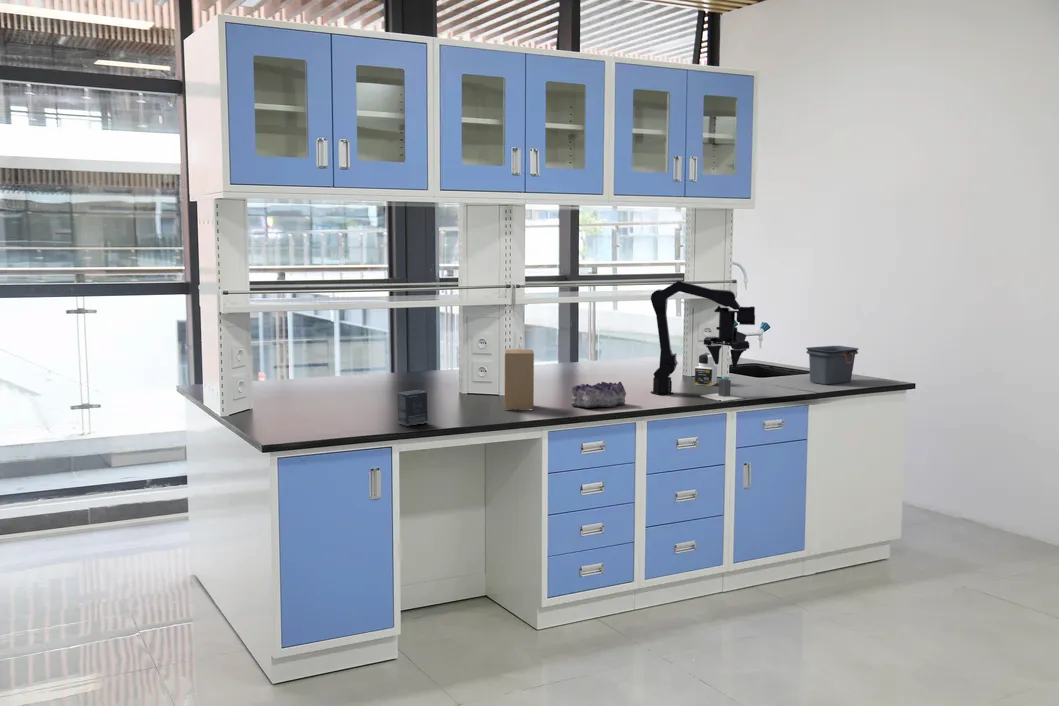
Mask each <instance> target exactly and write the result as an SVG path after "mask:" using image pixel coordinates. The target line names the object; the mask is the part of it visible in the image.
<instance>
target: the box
mask: <svg viewBox="0 0 1059 706" xmlns="http://www.w3.org/2000/svg"><path fill="white" fill-rule="evenodd" d="M397 411H398V412H397V414H398V416H397V417H398V418H397V420H398V421H400V422H403V423H407V424H409V423H416V422H424V421H428V419H429V418H428V416H429V415H428V392H427V391H425V390H421V389H414V390H408V391H400V392H397ZM428 422H429V421H428Z"/></svg>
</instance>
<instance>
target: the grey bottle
mask: <svg viewBox="0 0 1059 706" xmlns="http://www.w3.org/2000/svg"><path fill="white" fill-rule="evenodd" d="M731 384H732V382H731V380H730V379H729V376H726V375H724V376H723V375H722V376H721V379H718V393H719V396H723V397H726V396H730V394H731Z"/></svg>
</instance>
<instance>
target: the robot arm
mask: <svg viewBox="0 0 1059 706" xmlns="http://www.w3.org/2000/svg"><path fill="white" fill-rule="evenodd" d="M679 292H681V293H684V294H689V295H692V296H696V297H699V298H703V299H704V298H705V299H707V300H710V301H713V302H714V303H716V304H719V305H718V306H717V307H716V308H715V309H714V310H713V311H714V313H718V314H719V315H718V326H716V328H715V329H716V331H718V336H706V337H704V339H703V345H704V346H705V347H706V348H707V349H708V351H709V353H710V355H712V357H713V360H714V365H715V366H717V365H719V363H720V351H721V349H722V347H723V346H727V347H730V348H731V349H729V350H730V357H731V365H732V368H736V367H737V366H738V363H739V360H740V358H741V356H742V354H743V353H744V352H745V351H747V350H748V349H750V342H749V341H747V340H746V338H747V334H745V333H743V332H740V331H738V327H737V326H736V323H735V321H736V322H737V323H739V325H741V326H755V325H756V313H755V312H756V308H755V306H741V304H739V302H738V301H737V300H736V297H737V296H736V294H735V292H733V291H732V290H730V289H729V290H728V289H715V288H708V287H705V286H700V285H697V284H693V283H689V282H685V281H683V280H680V279H678V280H677V281H675V282H673V284H671V285H669V286H667V287H666V288H663V289H656V290H655V291H653V292H652V293H651V295H650V301H651V305H652V307H653V311H654V313H655V315H656V323H657V325H656V326H657V332H658V339H659V341H658V342H659V348H660V355H659V367H658V368H656V370H655V371H654V373H653V378H652V379H653V380H652V384H653V385H652V390H651V391H650V394H654V395H659V396H665V395H673V394H674V392H673V391H672V389H673V388H672V386H673V385H672V384H673V383H672V377H671V376H670V375H672V374H673V373H674V372H675V370H676V368H677V365H679V363H678V360H677V353H673V351H672V346H671V340H670V331H669V324H668V314H667V312H668V300H669V298H670V297H672V296H674V295H675V294H677V293H679ZM721 306H723V307H721ZM730 308H731V310H730ZM735 318H736V319H735Z"/></svg>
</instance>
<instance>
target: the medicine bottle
mask: <svg viewBox="0 0 1059 706" xmlns="http://www.w3.org/2000/svg"><path fill="white" fill-rule="evenodd" d="M717 381H718V366H717V365H715V362H714V360H713V357H712V355H711V354H700V355H699V356H698V365H697V366H695V367H694V385H696V386H708V387H712V386H714V385H716V384H718V383H717Z"/></svg>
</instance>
